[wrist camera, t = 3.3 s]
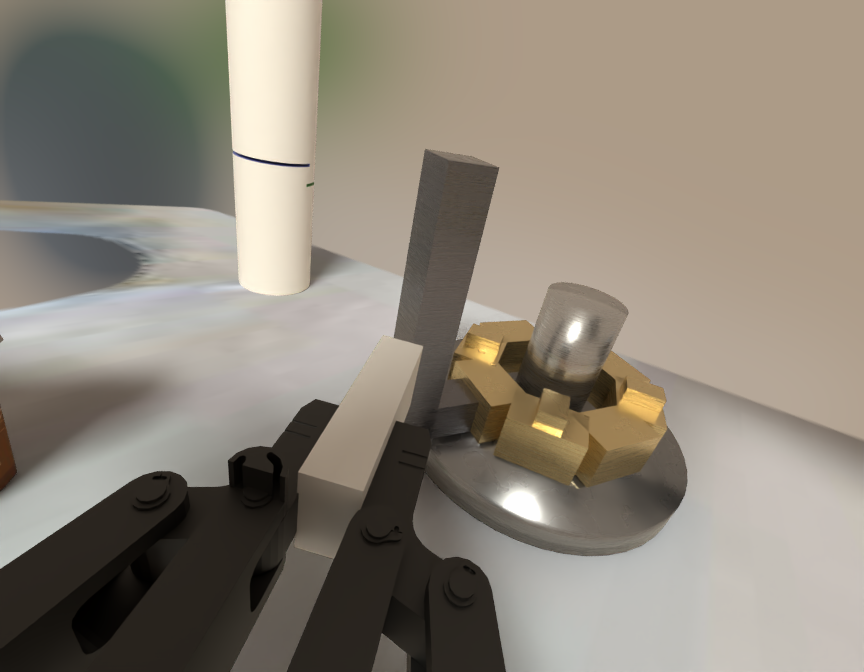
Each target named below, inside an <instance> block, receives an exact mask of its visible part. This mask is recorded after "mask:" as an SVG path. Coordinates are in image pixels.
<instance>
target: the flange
mask: <svg viewBox="0 0 864 672" xmlns="http://www.w3.org/2000/svg"><path fill="white" fill-rule="evenodd" d="M627 315H628V310H627V308H626V307H625V306H624V305H623V304H622V303H621V302H620V301H618V300H617V299H615V298H614V297H612V296H610V295H608V294H606V293H604V292H601V291H599V290H596V289H593V288H590V287H587V286H583V285H579V284H573V283H564V282H561V283H554V284H552V285H550V286H549V288H548V291H547V294H546V297H545V299H544V302H543V305H542V308H541V310H540V313H539V316H538V319H537V322H536V324H535V327H534V330H533V333H532V336H531V338H530V341H529V344H528V347H527V350H526V352H525V355H524V358H523V361H522V364H521V366H520V369H519V372H512V373H508V374H509V375H510V376H511V378H512V379H513V380H514V381H515V382H516V383H517V384H518V385H519V386H520V387H521V388H522V389H523V391H524V392H525V393H527V394H530V395H532V396H535V397H538V398H540V396H541V394H542V391H543V389H544V388H546V389H548V390H551V391H554V392H557V393H560V394H562V395H565V396H568V397H570V405H569V409H570V410H573V411H576V412H578V413H580V412H585V411H590V410H596V408H595V407H594V406H593V405H591V404H590V403H589V402H588V401H587V399H588V397H589V395H590V393H591V391H592V389H593V386H594V384H595V382H596V380H597V378H598V376H599V374H600V372H601V370H602V368H603V366H604V364H605V361H606V359H607V357H608V355H609V353H610V351H611V349H612V347H613V345H614V342H615V340H616V338H617V336H618V334H619V332H620V330H621V328H622V326H623V324H624V322H625V319H626V317H627ZM462 340H463V339H461V340H457V341H455V344H454V348H453V352H452V356H451V360H450V364H449V368H448V372H447V376H446V380H447V378H448V374H449V371H450V367H451V363H452V359H453V355H454V352H455V350H456V349H457V347H458V346H459V344H460V343H461V341H462ZM666 426H667V425H666ZM497 441H498V440H494V441H490V442H485V443H480V444H478V442H477V441H476V439H475V438H474V436H473V435H472V433H471V432H470V431H469V432H464V433H459V434H453V435H448V436H443V437H438V438H432V439H431V443H432V444H431V448H430V452H429V456H428V459H427V463H426V467H425V472H426V473H427V475H428V476H429V477H430V478H431V479H432V480H433V482H434V483H435V484H436V485H437V486H438V487H439V489H440V490H442V491H443V492H444V493H445V494H446V495H447V496H448V497H449V498H450V499H451V500H452V501H453V502H454V503H456V504H457V505H458V506H460V507H461V508H462V509H464V510H465V511H466V512H468V513H469V514H470V515H472V516H473V517H474V518H476V519H478V520H479V521H481V522H483V523H484V524H486V525H488V526H489V527H491V528H493V529H494V530H496V531H498V532H501V533H503V534H505V535H507V536H509V537H511V538H513V539H515V540H518V541H521V542H524V543H526V544H529V545H532V546H535V547H538V548H541V549H545V550H550V551H554V552H558V553H563V554H571V555H581V556H605V555H612V554H617V553H622V552H627V551H629V550H632V549H634V548H637V547H639V546H642V545H643V544H645V543H646V542H648V541H649V540H651V539H652V538H654V537H655V536H656V535H657V534H658V532H659V531H660V530H661V529H662V528H663V527H664V526H665V524H666V523H667V522H668V520H669V519H670V518H671V516H672V515H673V514H674V512H675V511H676V509H677V508H678V507H679V505H680V503H681V501H682V499H683V497H684V495H685V491H686V487H687V469H686V464H685V460H684V456H683V454H682V451H681V449H680V446H679V444H678V443H677V441H676V439H675V437H674V436H673V434H672V432H671V431H670V429H669V428H668V427H667V430H666V432H665V433H664V435H663V437H662V438H661V440H660V441H659V443H658V445H657V446H656V448H655V449H654V451H653V452H652V454H651V456H650V457H649V459H648V460H647V462H646V463H645V465H644V466H643V468H642V469H641V471H640V472H637V473H634V474H631V475H627V476H624V477H621V478H617V479H614V480H611V481H608V482H604V483H601V484H598V485H594V486H591V487H588V488H587V487H586V486H585V485H584V484H583V483H582V482H581V480H580V479H579V478H578V477H577V476H576V475H574V477H573V479H572V481H571V483H570V485H569V486H568V485H565V484H563V483H561V482H558V481H556V480H553V479H551V478H548V477H546V476H543V475H541V474H539V473H536V472H534V471H531V470H529V469H526V468H524V467H521V466H519V465H517V464H514V463H512V462H509V461H507V460H504V459H502V458H500V457H497V456H495V455H493V453H494V450H495V447H496V444H497Z"/></svg>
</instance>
